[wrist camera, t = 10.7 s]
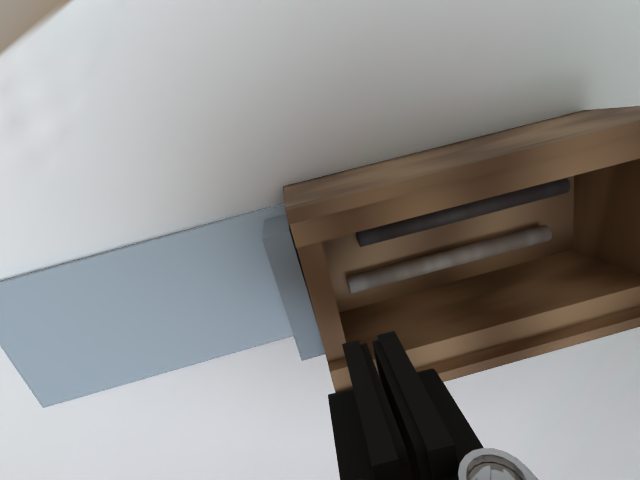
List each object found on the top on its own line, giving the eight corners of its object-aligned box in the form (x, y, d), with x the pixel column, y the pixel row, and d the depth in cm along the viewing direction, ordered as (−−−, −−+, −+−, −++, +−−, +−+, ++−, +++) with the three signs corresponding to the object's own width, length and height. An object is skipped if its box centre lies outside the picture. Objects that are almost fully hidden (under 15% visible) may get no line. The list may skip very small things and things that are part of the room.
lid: (284, 201, 17) (286, 219, 14) (319, 320, 20) (328, 361, 16) (-22, 285, 17) (-104, 327, 13) (52, 397, 19) (0, 457, 16)
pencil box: (583, 110, 17) (718, 100, 12) (579, 266, 20) (687, 313, 15) (283, 186, 17) (285, 210, 11) (323, 335, 20) (340, 410, 14)
